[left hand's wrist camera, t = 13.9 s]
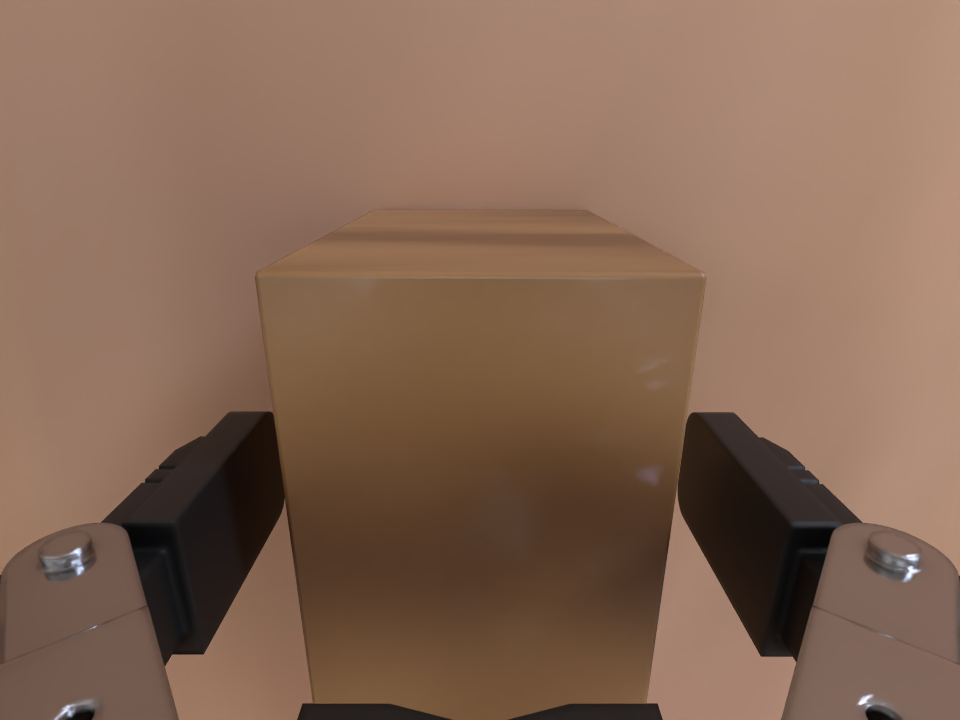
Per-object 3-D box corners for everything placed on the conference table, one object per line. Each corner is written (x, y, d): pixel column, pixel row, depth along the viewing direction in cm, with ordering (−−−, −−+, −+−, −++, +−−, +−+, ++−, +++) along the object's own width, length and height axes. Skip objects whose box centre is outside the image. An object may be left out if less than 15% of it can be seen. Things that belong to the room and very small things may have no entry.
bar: (372, 209, 15) (250, 271, 7) (590, 209, 15) (709, 272, 7) (408, 793, 23) (369, 1129, 15) (550, 793, 23) (587, 1130, 15)
